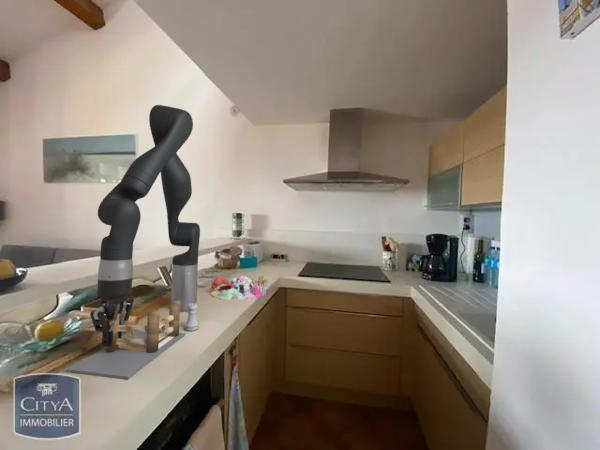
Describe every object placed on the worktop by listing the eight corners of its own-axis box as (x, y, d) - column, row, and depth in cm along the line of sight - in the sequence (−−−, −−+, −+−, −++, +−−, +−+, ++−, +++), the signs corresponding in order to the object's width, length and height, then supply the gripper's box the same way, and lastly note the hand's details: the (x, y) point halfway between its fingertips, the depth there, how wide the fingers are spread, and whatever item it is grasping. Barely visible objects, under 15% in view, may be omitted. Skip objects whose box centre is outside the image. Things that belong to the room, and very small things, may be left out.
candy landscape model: (236, 285, 151) (236, 268, 151) (274, 292, 142) (275, 273, 141) (202, 296, 128) (203, 276, 128) (245, 305, 119) (246, 283, 118)
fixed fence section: (172, 332, 86) (173, 300, 86) (180, 333, 86) (182, 300, 85) (143, 352, 73) (145, 314, 73) (153, 353, 73) (155, 315, 73)
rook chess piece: (193, 325, 94) (194, 301, 94) (202, 328, 92) (203, 303, 92) (181, 329, 90) (182, 304, 90) (190, 332, 88) (191, 307, 88)
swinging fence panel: (147, 346, 76) (148, 313, 76) (142, 351, 73) (143, 316, 73) (109, 346, 75) (110, 312, 75) (103, 351, 72) (104, 316, 72)
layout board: (139, 330, 88) (139, 328, 88) (185, 335, 86) (185, 332, 86) (66, 371, 64) (67, 368, 64) (127, 379, 62) (127, 376, 62)
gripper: (111, 282, 66) (107, 356, 66) (145, 272, 80) (141, 333, 80) (79, 280, 67) (75, 354, 67) (119, 271, 81) (115, 331, 81)
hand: (112, 342), depth 74 cm, fingers closed on swinging fence panel, 3 cm apart
